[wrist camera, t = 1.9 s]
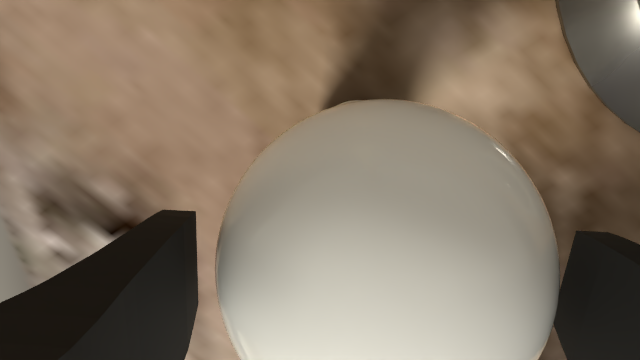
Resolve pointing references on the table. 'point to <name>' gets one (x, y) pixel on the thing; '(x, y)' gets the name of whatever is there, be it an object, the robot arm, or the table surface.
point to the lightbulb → (387, 243)
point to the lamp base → (606, 51)
